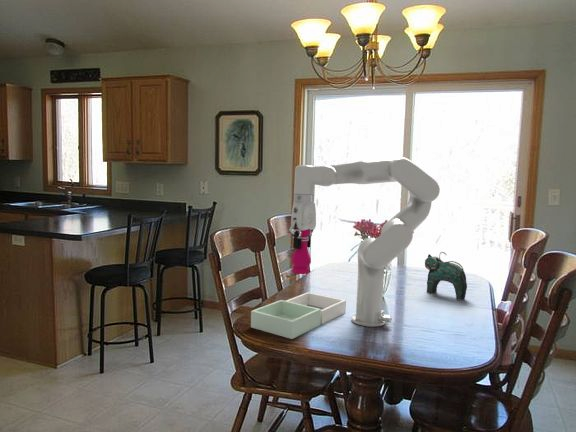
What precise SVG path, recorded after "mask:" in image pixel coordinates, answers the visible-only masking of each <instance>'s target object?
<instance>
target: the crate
mask: <svg viewBox="0 0 576 432" xmlns="http://www.w3.org/2000/svg"><path fill="white" fill-rule="evenodd" d="M285 301H288V302H293V303H297V304H301V305H306V306H310V307H315V308H319V309H321V323H320V325H323V324H325V323H328V322H330V321H332V320H334V319H335V318H337V317H340V316H341V315H343V314H345V313H346V309H347V308H346V307H347V306H346V305H347V300H346V299H342V298H337V297H333V296H328V295H327V296H326V295H323V294H319V293H318V294H317V293H314V292H309V291H307V292H305V293H302V294H299V295H297V296H294V297H291V298H289V299H286V300H285Z"/></svg>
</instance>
